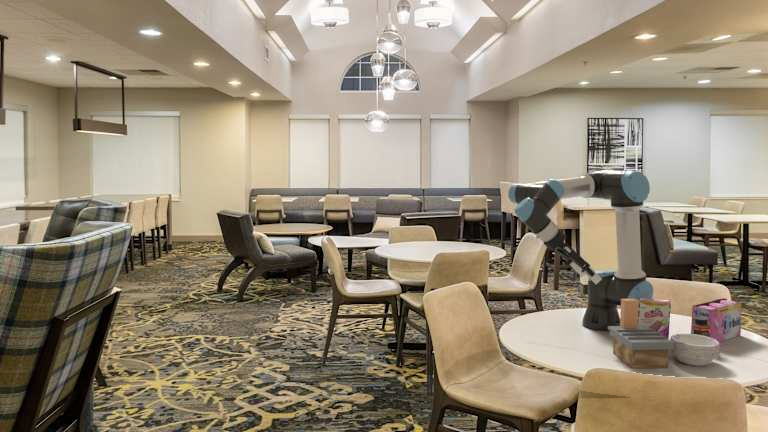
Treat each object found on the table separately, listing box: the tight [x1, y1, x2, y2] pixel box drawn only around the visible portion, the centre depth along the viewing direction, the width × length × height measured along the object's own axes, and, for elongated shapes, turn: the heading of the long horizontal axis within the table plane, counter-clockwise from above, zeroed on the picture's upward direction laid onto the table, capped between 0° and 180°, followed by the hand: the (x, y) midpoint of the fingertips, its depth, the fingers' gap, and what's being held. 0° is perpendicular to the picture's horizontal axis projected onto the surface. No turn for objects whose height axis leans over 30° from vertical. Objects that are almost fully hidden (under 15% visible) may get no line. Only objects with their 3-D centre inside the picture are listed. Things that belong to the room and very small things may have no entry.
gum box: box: [690, 297, 742, 343], centre depth 247 cm, size 24×8×14 cm, turn 124°
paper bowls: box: [669, 332, 721, 367], centre depth 219 cm, size 15×15×8 cm
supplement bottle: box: [692, 317, 710, 337], centre depth 233 cm, size 6×6×11 cm
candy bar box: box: [638, 298, 672, 340], centre depth 240 cm, size 11×5×16 cm, turn 71°
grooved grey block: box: [607, 299, 674, 351], centre depth 220 cm, size 20×14×12 cm
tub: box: [612, 337, 670, 369], centre depth 220 cm, size 16×12×8 cm
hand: (591, 277), depth 226 cm, fingers open, 13 cm apart
